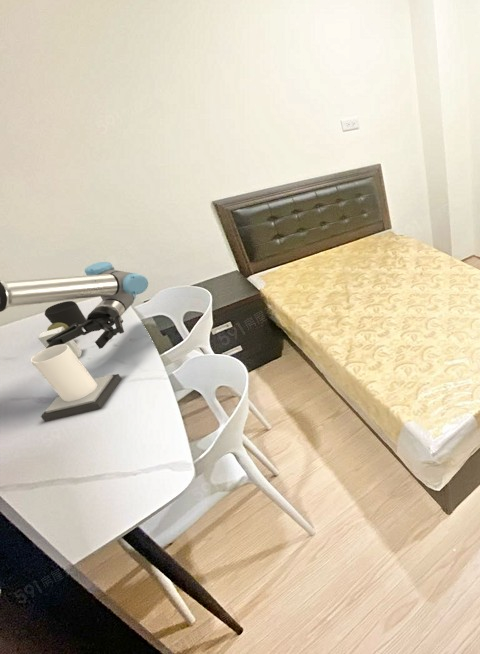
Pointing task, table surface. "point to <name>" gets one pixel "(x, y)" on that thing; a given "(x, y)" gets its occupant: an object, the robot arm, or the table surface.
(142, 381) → the table surface
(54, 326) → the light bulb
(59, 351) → the cup
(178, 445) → the table surface
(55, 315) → the pen holder
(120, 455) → the table surface
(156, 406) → the table surface
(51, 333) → the cosmetic box
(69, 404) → the scale
